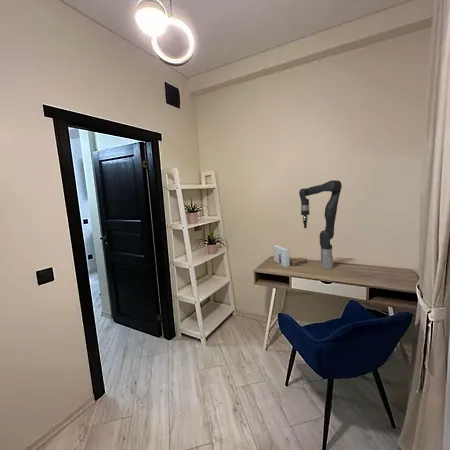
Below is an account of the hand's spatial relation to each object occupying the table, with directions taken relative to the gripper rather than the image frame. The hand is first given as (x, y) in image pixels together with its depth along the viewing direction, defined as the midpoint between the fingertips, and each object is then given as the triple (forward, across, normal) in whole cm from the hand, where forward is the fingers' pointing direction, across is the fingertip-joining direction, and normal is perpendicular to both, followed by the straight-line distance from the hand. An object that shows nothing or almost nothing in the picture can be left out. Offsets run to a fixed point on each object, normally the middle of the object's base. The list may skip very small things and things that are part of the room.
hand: (305, 228), depth 242 cm
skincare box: (+32, -15, +20) cm, 41 cm away
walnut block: (+30, -18, +10) cm, 37 cm away
